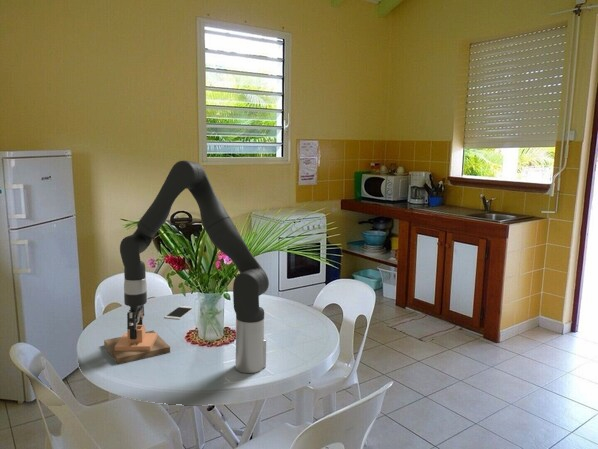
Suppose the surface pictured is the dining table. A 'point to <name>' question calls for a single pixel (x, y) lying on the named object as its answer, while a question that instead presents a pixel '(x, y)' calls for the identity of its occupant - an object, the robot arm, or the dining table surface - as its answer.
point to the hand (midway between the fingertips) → (136, 334)
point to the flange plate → (136, 340)
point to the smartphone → (179, 312)
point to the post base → (127, 356)
